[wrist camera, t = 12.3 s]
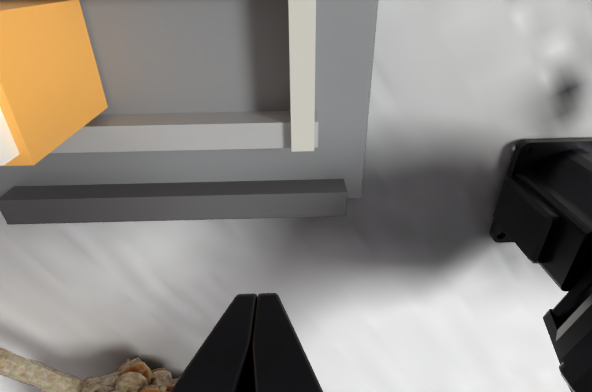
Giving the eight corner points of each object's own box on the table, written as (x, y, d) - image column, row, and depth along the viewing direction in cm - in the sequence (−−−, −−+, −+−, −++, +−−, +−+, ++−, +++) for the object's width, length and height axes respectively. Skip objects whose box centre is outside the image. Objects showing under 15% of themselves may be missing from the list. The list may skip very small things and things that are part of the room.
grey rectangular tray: (385, -173, 14) (411, -208, 11) (357, 187, 22) (368, 218, 19) (-146, -168, 14) (-255, -203, 11) (17, 195, 21) (-23, 228, 19)
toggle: (78, -1, 15) (-50, 18, 9) (108, 107, 17) (19, 176, 12) (2, 0, 15) (-175, 19, 9) (41, 108, 17) (-82, 179, 12)
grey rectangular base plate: (364, -192, 13) (373, -209, 12) (342, 201, 21) (345, 216, 19) (-154, -188, 12) (-201, -205, 11) (24, 209, 20) (7, 224, 19)
